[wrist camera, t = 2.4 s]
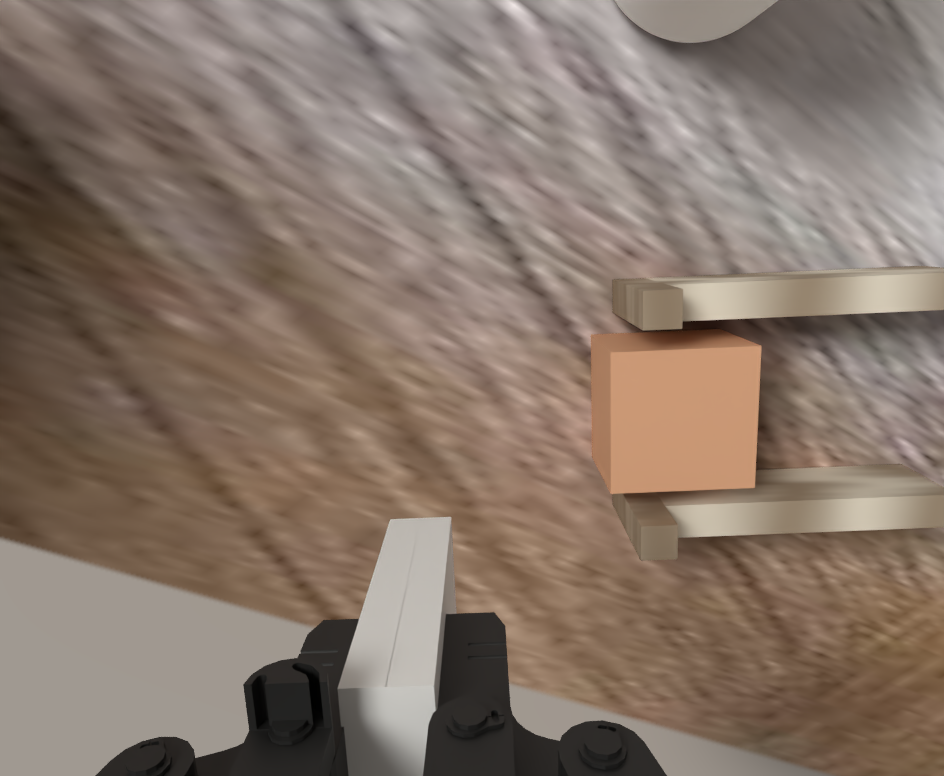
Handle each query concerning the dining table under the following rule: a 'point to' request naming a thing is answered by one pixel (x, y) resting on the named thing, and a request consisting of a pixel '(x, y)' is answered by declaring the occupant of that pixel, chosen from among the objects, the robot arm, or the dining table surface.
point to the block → (675, 410)
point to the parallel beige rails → (780, 490)
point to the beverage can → (692, 17)
